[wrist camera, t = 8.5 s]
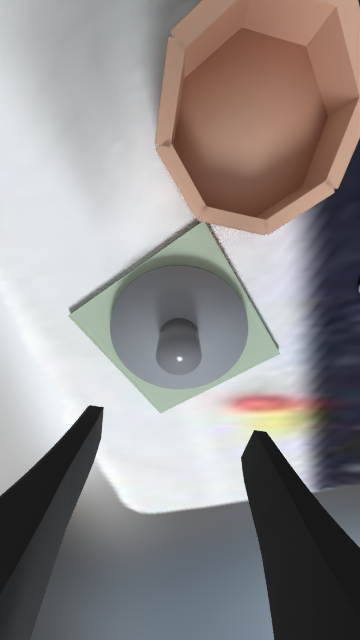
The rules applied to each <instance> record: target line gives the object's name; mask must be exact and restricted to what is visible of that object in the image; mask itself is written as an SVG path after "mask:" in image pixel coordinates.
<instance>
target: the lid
mask: <svg viewBox="0 0 360 640" xmlns="http://www.w3.org/2000/svg"><path fill="white" fill-rule="evenodd" d="M110 335H111V341H112V344H113V348H114V350H115V352H116V354H117V356H118V357H119V359H120V361H121V362H122V363H123V364H124V366H125V367H126V368H127V369H128V370H129V371H130V372H131V373H133V374H134V375H135V376H137V377H138V378H140V379H142V380H143V381H145V382H147V383H150V384H152V385H155V386H158V387H162V388H167V389H191V388H196V387H200V386H204V385H207V384H209V383H211V382H213V381H215V380H217V379H219V378H220V377H222V376H223V375H224V374H226V373H227V372H228V371H229V370H230V369H231V368H232V367H233V366H234V365H235V364H236V363H237V361H238V360H239V358H240V357H241V355H242V353H243V351H244V348H245V346H246V342H247V337H248V319H247V315H246V311H245V308H244V306H243V304H242V302H241V300H240V299H239V297H238V296H237V294H236V293H235V291H234V290H233V289H232V288H231V287H230V285H229V284H228V283H227V282H225V281H224V280H223V279H222V278H220V277H219V276H217V275H215V274H214V273H212V272H210V271H207V270H205V269H202V268H199V267H195V266H189V265H169V266H163V267H159V268H156V269H153V270H151V271H148V272H146V273H144V274H143V275H141V276H139V277H138V278H136V279H135V280H134V281H133V282H131V283H130V285H129V286H128V287H127V288H126V289H125V290H124V291H123V293H122V294H121V296H120V297H119V299H118V300H117V302H116V304H115V306H114V309H113V312H112V315H111V321H110Z"/></svg>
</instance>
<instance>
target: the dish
mask: <svg viewBox="0 0 360 640" xmlns="http://www.w3.org/2000/svg"><path fill="white" fill-rule="evenodd" d="M359 138H360V7H359V3H358V0H202V1H201V2H200V3H199V4H198V5H197V6H196V7H195V8H193V9H192V10H191V11H190V12H189V13H188V14H187V15H186V16H185V17H184V18H183V19H182V20H181V21H180V22H179V23H178V24H177V25H176V26H175V27H174V28H173V29H172V30H171V37H169V36H168V43H167V51H166V59H165V67H164V75H163V83H162V90H161V98H160V106H159V114H158V122H157V130H156V138H155V146H156V148H157V149H156V151H157V154H158V156H159V159H160V161H161V162H162V164H163V166H164V167H165V169H166V171H167V173H168V174H169V176H170V178H171V179H172V181H173V183H174V184H175V186H176V188H177V190H178V192H179V193H180V195H181V196H182V198H183V200H184V202H185V203H186V205H187V207H188V208H189V210H190V212H191V214H192V215H193V217H194V218H196V219H197V220H198V221H201V222H206V223H211V224H215V225H220V226H224V227H229V228H233V229H238V230H242V231H247V232H251V233H256V234H260V235H265V234H268V235H269V234H270V233H272V232H273V231H275V230H277V229H278V228H280V227H281V226H283V225H284V224H286V223H288V222H289V221H291V220H292V219H294V218H295V217H297V216H299V215H300V214H302V213H303V212H305V211H306V210H308V209H310V208H311V207H313V206H314V205H316V204H317V203H319V202H321V201H322V200H324V199H325V198H327V197H328V196H330V195H332V194H333V193H335V192H334V189H338V187H339V185H340V182H341V180H342V178H343V175H344V173H345V171H346V168H347V166H348V164H349V161H350V159H351V157H352V154H353V152H354V150H355V147H356V145H357V143H358V140H359Z"/></svg>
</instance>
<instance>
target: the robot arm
mask: <svg viewBox="0 0 360 640" xmlns="http://www.w3.org/2000/svg"><path fill="white" fill-rule="evenodd" d="M359 292H360V285H359ZM103 409H104V407H98V406H91V405H90V406H88V407H87V408H86V410H85V411H84V412H83V413H82V415H81V416H80V417H79V418H78V420H77V421H76V422H75V423H74V424H73V426H72V427H71V428H70V429H69V430H68V431H67V432H66V433H65V435H64V436H63V437H62V438H61V439H60V440H59V441H58V442H57V443H56V444H55V445H54V446H53V447H52V448H51V450H50V451H48V453H46V454H45V455H44V457H43V458H41V459H40V460H39V461H38V462H37V463H36V464H35V465H34V466H33V467H32V468H31V469H30V470H29V471H28V472H27V473H26V474H25V475H24V476H23V477H21V478H20V479H19V480H18V481H17V482H16V483H15V484H14V485H12V486H11V487H10V488H9V489H8V490H7V491H6V492H5V493H3V494H2V495H1V496H0V640H30V638H31V635H32V632H33V628H34V625H35V622H36V619H37V616H38V613H39V610H40V607H41V603H42V600H43V597H44V594H45V591H46V587H47V585H48V582H49V579H50V576H51V572H52V569H53V566H54V563H55V560H56V557H57V554H58V551H59V548H60V545H61V542H62V539H63V536H64V533H65V531H66V528H67V525H68V523H69V520H70V518H71V515H72V513H73V511H74V508H75V506H76V503H77V501H78V498H79V496H80V494H81V491H82V489H83V486H84V484H85V482H86V479H87V477H88V474H89V472H90V470H91V467H92V465H93V462H94V459H95V456H96V453H97V450H98V446H99V443H100V440H101V433H102V421H103ZM241 461H242V470H243V477H244V483H245V487H246V491H247V496H248V500H249V504H250V508H251V512H252V516H253V520H254V524H255V528H256V532H257V536H258V540H259V544H260V550H261V554H262V559H263V566H264V572H265V578H266V584H267V591H268V597H269V604H270V611H271V617H272V625H273V633H274V640H360V548H359V547H358V546H357V544H356V543H355V542H354V541H353V540H352V539H351V538H350V537H349V536H348V535H347V534H346V533H345V531H344V530H343V529H342V528H340V526H339V525H338V524H337V523H336V521H335V520H334V519H333V518H332V517H331V516H330V515H329V514H328V513H327V511H326V510H325V509H324V508H323V506H322V505H321V504H320V503H319V501H318V500H317V499H316V498H315V497H314V495H313V494H312V493H311V492H310V490H309V489H308V488H307V487H306V485H305V484H304V483H303V481H302V480H301V479H300V477H299V476H298V475H297V473H296V472H295V471H294V469H293V468H292V467H291V465H290V464H289V463H288V461H287V460H286V459H285V457H284V456H283V454H282V453H281V452H280V450H279V449H278V447H277V446H276V445H275V443H274V442H273V440H272V439H271V438H270V436H269V435H268V434H267V432H263V431H256V430H254V432H253V434H252V436H251V438H250V440H249V442H248V444H247V446H246V448H245V450H244V453H243V455H242V457H241Z"/></svg>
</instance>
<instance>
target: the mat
mask: <svg viewBox="0 0 360 640" xmlns="http://www.w3.org/2000/svg"><path fill="white" fill-rule="evenodd" d="M169 265H189V266H195V267H199V268H202V269H205V270H207V271H210V272H212V273H214V274H215V275H217V276H219V277H220V278H222V279H223V280H224V281H225V282H227V283H228V284H229V285H230V287H231V288H232V289H233V290H234V291H235V293H236V294H237V296H238V297H239V299H240V300H241V302H242V304H243V306H244V308H245V311H246V315H247V319H248V337H247V342H246V346H245V348H244V351H243V353H242V355H241V357H240V358H239V360H238V361H237V363H236V364H235V365H234V366H233V367H232V368H231V369H230V370H229V371H228V372H227V373H226V374H224V375H223V376H222V377H220V378H219V379H217V380H215V381H213V382H211V383H209V384H207V385H204V386H200V387H196V388H191V389H167V388H162V387H158V386H155V385H152V384H150V383H147V382H145V381H143V380H142V379H140V378H138V377H137V376H135V375H134V374H133V373H131V372H130V371H129V370H128V369H127V368H126V367H125V366H124V364H123V363H122V362H121V361H120V359H119V357H118V356H117V354H116V352H115V350H114V348H113V344H112V341H111V335H110V321H111V315H112V312H113V309H114V306H115V304H116V302H117V300H118V299H119V297H120V296H121V294H122V293H123V291H124V290H125V289H126V288H127V287H128V286H129V285H130V283H131V282H133V281H134V280H135V279H136V278H138V277H139V276H141V275H143V274H144V273H146V272H148V271H151V270H153V269H156V268H159V267H163V266H169ZM69 317H70V318H71V319H72V320H73V321H74V322H75V324H76V325H77V326H78V327H79V328H80V329H81V330H82V331H83V332H84V333H85V334H86V335H87V336H88V337H89V338H90V339H91V340H92V341H93V343H94V344H95V345H96V346H97V347H98V348H99V349H100V350H101V351H102V352H103V353H104V354H105V355H106V356H107V357H108V358H109V359H110V360H111V362H112V363H113V364H114V365H115V366H116V367H117V368H118V369H119V370H120V371H121V372H122V373H123V374H124V375H125V376H126V377H127V378H128V379H129V381H130V382H131V383H132V384H133V385H134V386H135V387H136V388H137V389H138V390H139V391H140V392H141V393H142V394H143V395H144V396H145V397H146V398H147V400H148V401H149V402H150V403H151V404H152V405H153V406H154V407H155V408H156V409H157V410H158V411H159V412H160V413H162V412H164V411H166V410H168V409H170V408H172V407H174V406H176V405H178V404H180V403H182V402H184V401H186V400H188V399H190V398H192V397H194V396H196V395H198V394H200V393H202V392H204V391H206V390H208V389H210V388H212V387H214V386H216V385H218V384H220V383H222V382H224V381H226V380H228V379H230V378H232V377H234V376H236V375H238V374H240V373H242V372H244V371H246V370H248V369H250V368H252V367H254V366H256V365H258V364H260V363H262V362H264V361H266V360H268V359H270V358H273V357H275V356H277V355H279V354H280V352H279V351H278V349H277V347H276V345H275V344H274V342H273V340H272V338H271V337H270V335H269V333H268V331H267V330H266V328H265V326H264V324H263V323H262V321H261V319H260V317H259V316H258V314H257V312H256V310H255V309H254V307H253V305H252V303H251V302H250V300H249V298H248V296H247V295H246V293H245V291H244V289H243V288H242V286H241V284H240V282H239V281H238V279H237V277H236V275H235V274H234V272H233V270H232V268H231V267H230V265H229V263H228V261H227V260H226V258H225V256H224V254H223V253H222V251H221V249H220V247H219V246H218V244H217V242H216V240H215V239H214V237H213V235H212V233H211V232H210V230H209V228H208V226H207V225H206V223H205V222H200V223H199V224H197V225H196V226H195V227H193V228H192V229H190V230H189V231H188V232H186V233H185V234H183V235H182V236H180V237H179V238H178V239H176V240H175V241H173V242H172V243H170V244H169V245H168V246H166V247H165V248H163V249H162V250H160V251H159V252H158V253H156V254H155V255H153V256H152V257H151V258H149V259H148V260H146V261H145V262H143V263H142V264H141V265H139V266H138V267H136V268H135V269H133V270H132V271H131V272H129V273H128V274H126V275H125V276H123V277H122V278H121V279H119V280H118V281H116V282H115V283H114V284H112V285H111V286H109V287H108V288H106V289H105V290H104V291H102V292H101V293H99V294H98V295H96V296H95V297H94V298H92V299H91V300H89V301H88V302H87V303H85V304H84V305H82V306H81V307H79V308H78V309H77V310H75V311H74V312H72V313H71V314H70V315H69Z"/></svg>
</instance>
